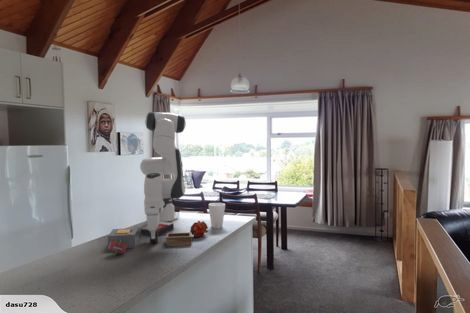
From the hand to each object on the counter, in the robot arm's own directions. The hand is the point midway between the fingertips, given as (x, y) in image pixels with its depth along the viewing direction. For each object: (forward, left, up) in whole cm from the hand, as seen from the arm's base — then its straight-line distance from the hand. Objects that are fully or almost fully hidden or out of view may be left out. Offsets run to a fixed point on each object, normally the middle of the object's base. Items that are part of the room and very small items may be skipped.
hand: (154, 235), depth 166 cm
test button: (0, -14, 0) cm, 14 cm away
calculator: (-21, 0, -4) cm, 21 cm away
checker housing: (0, -14, -4) cm, 15 cm away
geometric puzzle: (+14, -14, -4) cm, 20 cm away
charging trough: (+2, +12, -4) cm, 12 cm away
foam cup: (-26, +33, -4) cm, 42 cm away
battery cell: (0, 0, -4) cm, 4 cm away
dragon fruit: (-8, +22, -4) cm, 24 cm away
